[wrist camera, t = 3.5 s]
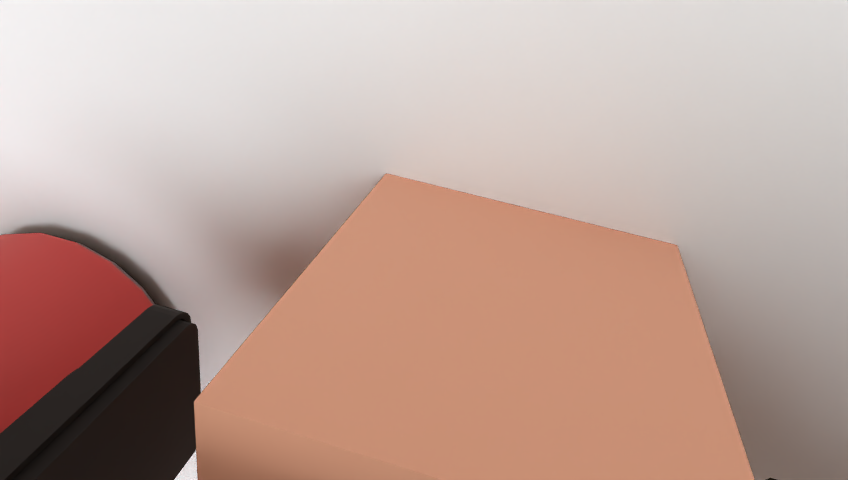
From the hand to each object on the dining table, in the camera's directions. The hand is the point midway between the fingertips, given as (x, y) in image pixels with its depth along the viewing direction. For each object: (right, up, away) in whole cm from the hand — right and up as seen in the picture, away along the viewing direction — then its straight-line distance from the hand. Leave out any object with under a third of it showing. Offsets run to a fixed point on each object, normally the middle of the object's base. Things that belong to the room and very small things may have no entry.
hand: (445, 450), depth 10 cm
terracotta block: (+1, +2, +3) cm, 4 cm away
